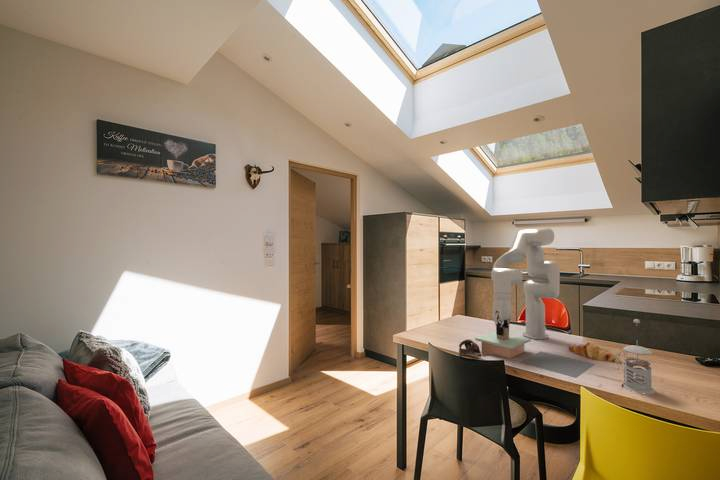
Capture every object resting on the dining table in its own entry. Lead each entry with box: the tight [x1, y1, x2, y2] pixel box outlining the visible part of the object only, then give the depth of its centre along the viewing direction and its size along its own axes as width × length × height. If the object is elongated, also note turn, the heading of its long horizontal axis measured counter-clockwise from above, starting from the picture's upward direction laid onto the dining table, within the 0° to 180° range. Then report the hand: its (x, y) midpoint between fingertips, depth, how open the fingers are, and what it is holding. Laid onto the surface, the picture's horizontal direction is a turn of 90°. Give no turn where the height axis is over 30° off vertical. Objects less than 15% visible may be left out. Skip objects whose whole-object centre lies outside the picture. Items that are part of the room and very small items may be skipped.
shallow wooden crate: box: [480, 341, 525, 359], centre depth 163 cm, size 14×14×6 cm
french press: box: [615, 318, 656, 395], centre depth 124 cm, size 10×12×25 cm
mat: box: [518, 351, 596, 379], centre depth 146 cm, size 22×22×1 cm
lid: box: [475, 327, 532, 349], centre depth 163 cm, size 18×18×6 cm
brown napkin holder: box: [458, 339, 482, 357], centre depth 161 cm, size 12×10×8 cm
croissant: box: [567, 342, 622, 364], centre depth 154 cm, size 21×10×8 cm, turn 36°
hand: (502, 333), depth 163 cm, fingers open, 4 cm apart
